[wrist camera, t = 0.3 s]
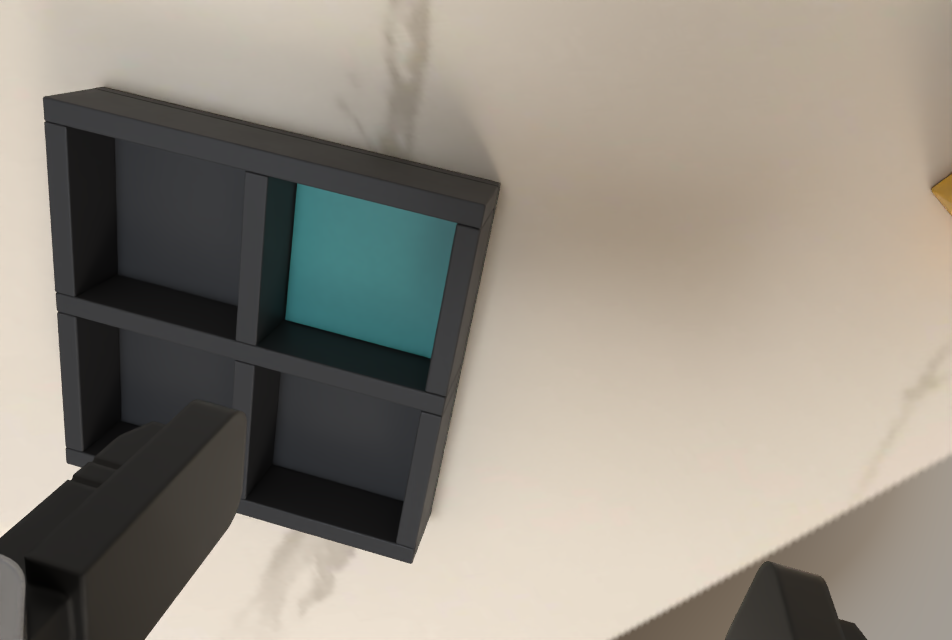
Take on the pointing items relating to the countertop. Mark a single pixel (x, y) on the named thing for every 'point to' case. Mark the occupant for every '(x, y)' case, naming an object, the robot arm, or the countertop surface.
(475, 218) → the tray
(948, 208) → the block
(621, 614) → the countertop surface
